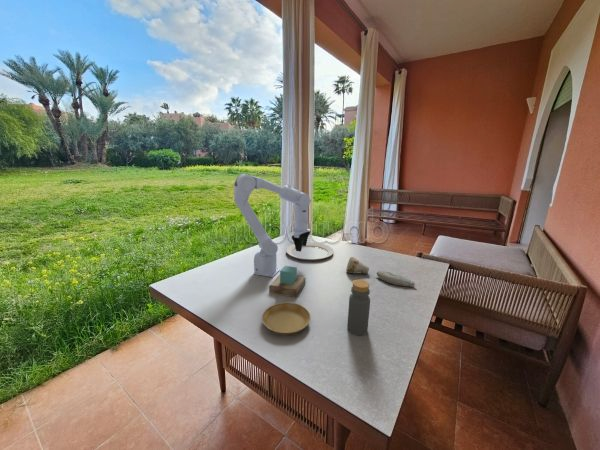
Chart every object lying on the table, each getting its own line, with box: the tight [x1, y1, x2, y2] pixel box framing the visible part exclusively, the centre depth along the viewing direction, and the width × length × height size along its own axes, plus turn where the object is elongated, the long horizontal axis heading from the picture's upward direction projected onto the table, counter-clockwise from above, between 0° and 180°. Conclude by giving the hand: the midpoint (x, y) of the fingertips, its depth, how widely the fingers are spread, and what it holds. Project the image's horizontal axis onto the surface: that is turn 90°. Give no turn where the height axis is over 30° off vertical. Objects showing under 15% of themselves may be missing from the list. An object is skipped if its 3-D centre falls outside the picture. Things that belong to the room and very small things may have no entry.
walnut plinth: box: [268, 274, 307, 298], centre depth 95 cm, size 11×11×3 cm
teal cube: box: [279, 265, 298, 285], centre depth 94 cm, size 5×5×5 cm
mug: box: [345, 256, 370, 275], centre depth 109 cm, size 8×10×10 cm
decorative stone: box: [376, 270, 416, 288], centre depth 101 cm, size 6×16×3 cm, turn 55°
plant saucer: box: [261, 302, 311, 336], centre depth 75 cm, size 15×15×3 cm
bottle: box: [346, 279, 371, 336], centre depth 70 cm, size 6×6×15 cm
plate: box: [286, 241, 334, 261], centre depth 132 cm, size 26×26×2 cm
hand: (301, 248), depth 112 cm, fingers open, 7 cm apart
